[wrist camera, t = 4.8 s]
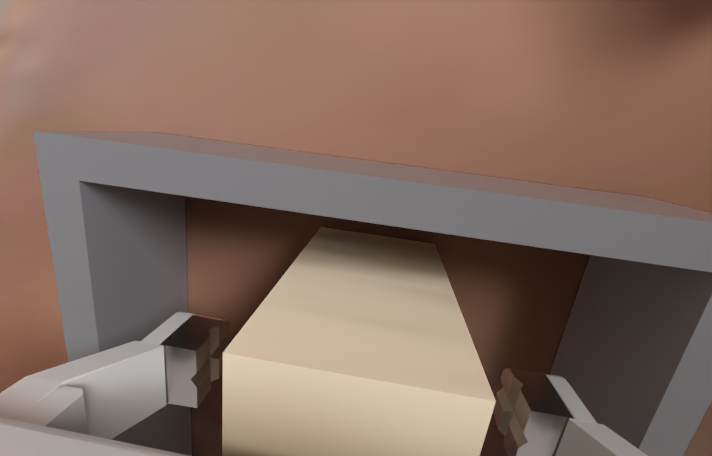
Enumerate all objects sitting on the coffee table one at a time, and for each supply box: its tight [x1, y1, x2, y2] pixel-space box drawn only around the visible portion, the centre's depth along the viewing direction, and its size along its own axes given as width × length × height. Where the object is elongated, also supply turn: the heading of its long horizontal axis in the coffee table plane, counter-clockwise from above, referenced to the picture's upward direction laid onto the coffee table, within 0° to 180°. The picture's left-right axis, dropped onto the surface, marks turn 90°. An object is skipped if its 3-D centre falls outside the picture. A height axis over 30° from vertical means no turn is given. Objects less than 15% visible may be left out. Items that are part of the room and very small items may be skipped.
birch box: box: [222, 227, 496, 456], centre depth 9 cm, size 6×4×7 cm, turn 173°
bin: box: [33, 131, 712, 456], centre depth 11 cm, size 18×16×4 cm
